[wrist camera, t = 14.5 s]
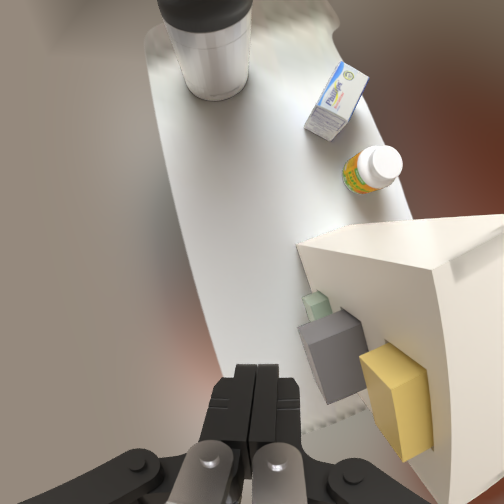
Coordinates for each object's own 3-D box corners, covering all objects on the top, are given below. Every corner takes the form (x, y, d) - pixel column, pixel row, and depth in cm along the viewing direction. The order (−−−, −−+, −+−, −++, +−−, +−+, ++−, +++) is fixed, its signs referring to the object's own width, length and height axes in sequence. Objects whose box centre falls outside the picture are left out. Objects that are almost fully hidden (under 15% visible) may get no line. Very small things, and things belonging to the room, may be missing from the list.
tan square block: (358, 356, 19) (391, 389, 14) (439, 316, 19) (484, 335, 14) (375, 423, 19) (403, 462, 14) (448, 384, 19) (485, 411, 14)
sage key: (301, 297, 39) (310, 306, 34) (349, 278, 39) (364, 284, 34) (315, 340, 39) (325, 353, 34) (361, 321, 39) (376, 332, 34)
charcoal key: (297, 327, 29) (308, 345, 24) (360, 301, 29) (382, 314, 24) (315, 380, 29) (327, 404, 24) (374, 355, 29) (395, 374, 24)
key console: (295, 244, 43) (431, 270, 11) (348, 224, 43) (536, 212, 11) (333, 360, 44) (447, 515, 12) (381, 339, 44) (530, 453, 12)
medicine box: (329, 143, 42) (349, 123, 34) (302, 127, 42) (315, 104, 34) (350, 101, 42) (371, 77, 34) (324, 86, 42) (340, 59, 33)
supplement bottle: (333, 177, 43) (358, 163, 33) (354, 150, 43) (381, 130, 33) (362, 202, 43) (393, 194, 33) (382, 174, 43) (415, 161, 33)
